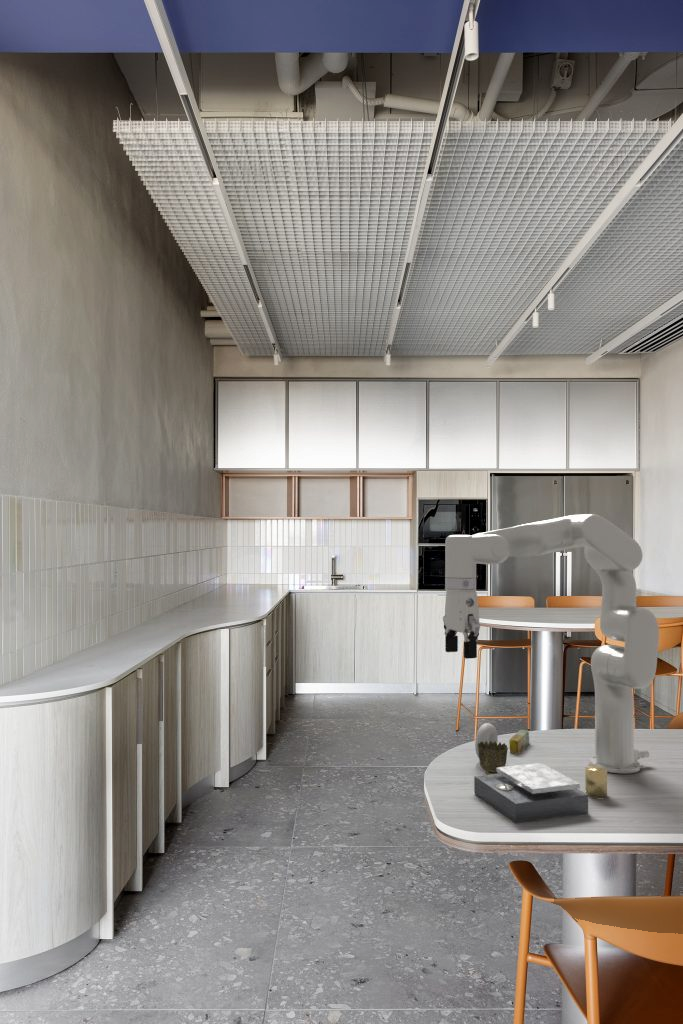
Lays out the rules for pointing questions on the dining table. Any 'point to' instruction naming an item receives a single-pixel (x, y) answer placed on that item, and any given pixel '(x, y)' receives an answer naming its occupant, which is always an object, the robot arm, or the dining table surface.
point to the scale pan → (537, 778)
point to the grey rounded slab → (485, 735)
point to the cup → (492, 756)
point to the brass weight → (596, 781)
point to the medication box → (519, 741)
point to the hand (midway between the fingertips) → (460, 654)
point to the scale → (528, 800)
